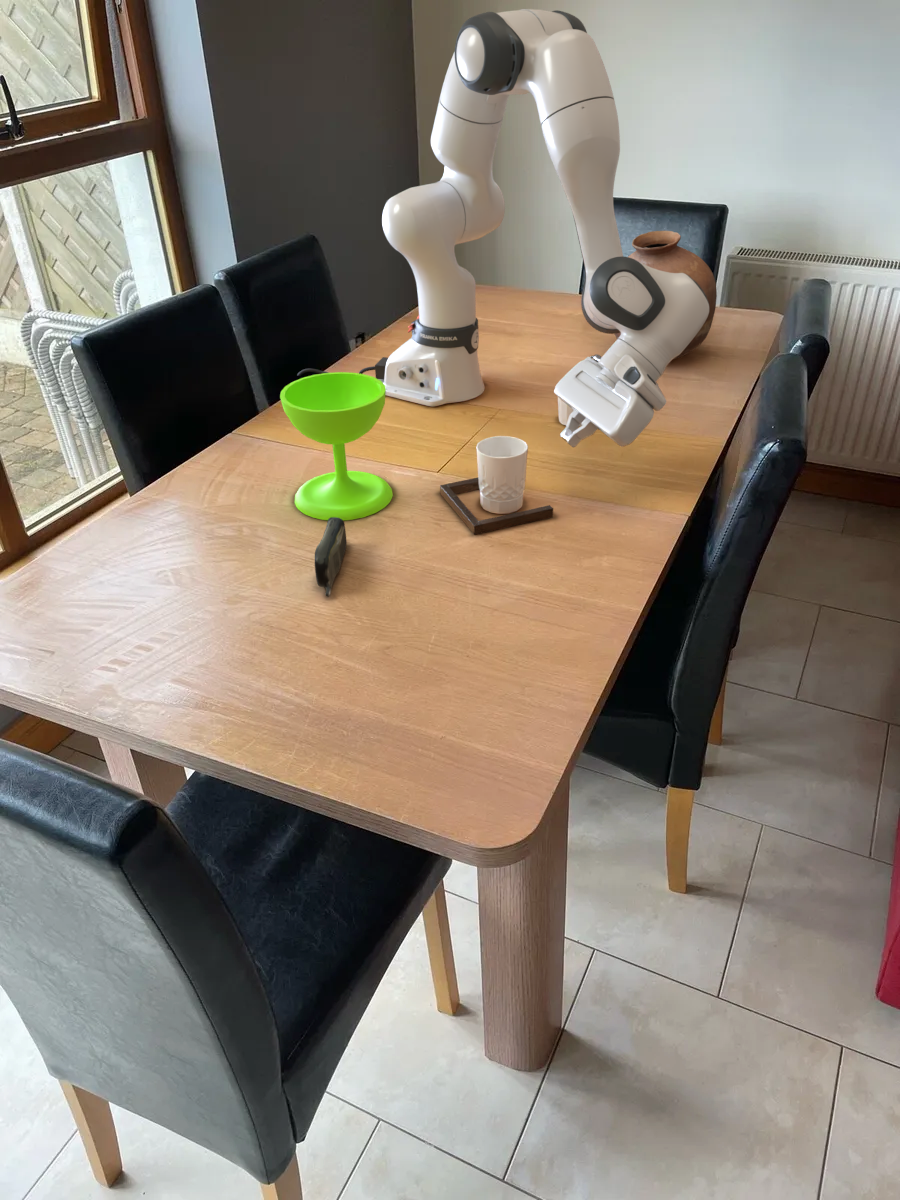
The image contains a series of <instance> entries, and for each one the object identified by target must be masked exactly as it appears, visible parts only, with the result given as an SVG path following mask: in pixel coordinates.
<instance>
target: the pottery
mask: <svg viewBox="0 0 900 1200" xmlns="http://www.w3.org/2000/svg"><path fill="white" fill-rule="evenodd" d="M681 238H682V236H681V235H680V233H679V232H677V231H675V232H674V231H672V230H652V231H647V232H645V233H642V234H639V235H638V236H636V237H635V238H633V239H632V242H631V246H632V247H633V249H635V251H634V252H632V253H630V254H629V255H628V256H627V257H629V258H632V259H635V260H637V261H638V262H640V263H642V264H644V265H647V266H649V267H651V268H654V269H657V270H660V271H664V272H669V273H685V274H687V275H689V276H690V277H691V278H692V279H693V280H695V281H696V282H697V283H698V285H699V286H700V287H701V288H702V290H703V291H704V293H705V295H706V297H707V300H708V302H709V314H708V317H707V319H706V321H705V323H704V324H703V326H702V327H701V329H700V330H699V332H698V333H697V334H696V336H695V337H694V338H693V339H692V341H691V342H690V343H689V344H688V346H687V347H686V348H685V349H684V350H683V351H682V352H681V354H679V355H678V356H677V357H675V358H674V359H673V360H676V359H679V358H681V357H684V356H685V355H688V354H689V353H691V352H693V351H694V350H696V349H697V348H698V347H699V346H701V345H702V343H704V341H705V340H706V338H707V336H708V335H709V333H710V331H711V329H712V325H713V320H714V317H715V314H716V313H715V312H716V308H717V298H718V295H717V294H718V292H717V283H716V279H715V276H714V273H713V272H712V270H711V268H710V267H709V265H708V264H707V263H706V262H705V261H704V260H703V259H702V258H701V257H700V256H699V255H698V254H695V253H694V252H692V251H690V250H689V249H686V248H684V247H681V246H680V245H678V244H679V243H680V241H681ZM620 335H621V332H620V333H616V334H614V336H615V338H616V340H617V339H618V338H619V336H620Z"/></svg>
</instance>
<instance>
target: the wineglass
mask: <svg viewBox="0 0 900 1200" xmlns="http://www.w3.org/2000/svg"><path fill="white" fill-rule="evenodd" d="M385 394H386V389H385V385H384V384H383V383H382V381H380V380H378V379H377V378H376V376H373V375H372V376H371V375H368V374H364V373H363V374H359V372H345V371H337V372H329V373H323V374H319V373H316V374H312V375H308V376H304V377H300V378H299V379H296V380H294V381H292V382H290V383H288V384H287V385H285V386H284V387H283V388H282V389H281V391H280V394H279V399H280V402H281V406H282V409H283V412H284V413H285V415H286V416H287V418H288V420H289V421H290V423H291V424H292V427H295V429H296V430H297V431H299V433H301V434H302V435H303V436H305V437H306V438H308V439H310V440H312V441H314V442H317V443H320V444H324V445H331V446H332V454H333V464H334V471H332V472H326V473H323V474H320V475H316V476H314V477H313V478H311V479H309V480H307V481H305V483H304V484H302V485H301V486H300V487H299V488H298V490H297V492H296V493H295V495H294V506H295V507H296V509H297V510H298V511H300V512H301V513H302V514H303V515H305V516H308V517H310V518H313V519H317V520H322V521H328V519H329V518H331V517H337V518H340V519H342V520H343V521H352V520H359V519H362V518H366V517H369V516H372V515H374V514H376V513H378V512H380V511H382V510H383V509H385V508H386V507H387V506H388V505H389V504H390V503H391V501H392V499H393V497H394V495H393V489H392V487H391V486H390V485H389V483H388V481H386V480H385V479H383V478H382V477H380V476H379V475H375V474H374V473H371V472H367V471H360V470H348V465H347V456H346V444H348V443H351V442H355V441H356V440H358V439H360V438H362V437H363V436H365V435H366V434H368V433H369V431H371V430H372V429H373V427H374V426H375V425H376V423H377V422H378V421H379V420H380V418H381V415H382V412H383V411H384V410H383V409H384V408H385V404H386V395H385Z"/></svg>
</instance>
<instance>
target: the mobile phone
mask: <svg viewBox="0 0 900 1200" xmlns="http://www.w3.org/2000/svg"><path fill="white" fill-rule="evenodd" d="M344 521H345V520H342V519H340V518H337V517H331V518H329V519H328V520H327V524H326V527H325V530H324V532H323V536H322V538H321V540H319V543H318V545H317V546H316V548H315V550H314V572H315V579H316V584H317V586H318V587H320V588H325V597H327V598H329V597H331V594H332V587H333V583H334V581H335V579H336V577H337V575H338V574H339V572H340V570H341V566H342V562H343V559H344V557H345V553H346V549H347V532H346V525H345V522H344Z"/></svg>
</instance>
